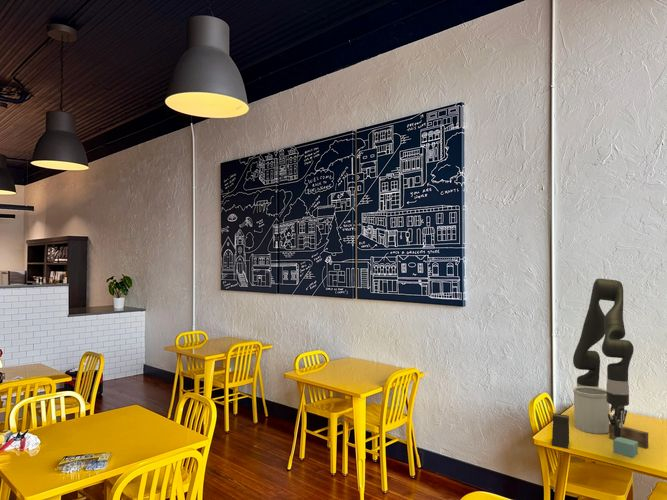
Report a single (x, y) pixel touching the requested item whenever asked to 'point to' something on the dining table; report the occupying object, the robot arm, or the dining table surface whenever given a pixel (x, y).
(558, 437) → the phone stand
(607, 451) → the dining table surface
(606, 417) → the utensil holder
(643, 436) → the walnut board
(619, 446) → the teal block
